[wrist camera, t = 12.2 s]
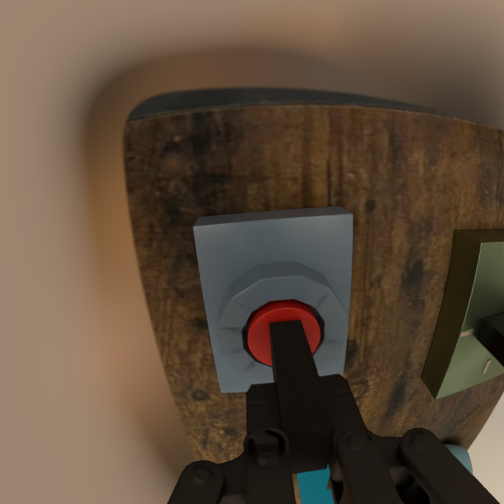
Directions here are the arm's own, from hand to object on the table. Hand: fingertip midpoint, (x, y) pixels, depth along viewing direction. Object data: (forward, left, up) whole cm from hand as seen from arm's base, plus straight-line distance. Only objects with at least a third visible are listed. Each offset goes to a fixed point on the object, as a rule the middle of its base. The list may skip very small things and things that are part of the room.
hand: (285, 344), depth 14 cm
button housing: (0, 0, -5) cm, 5 cm away
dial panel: (+11, +14, -5) cm, 18 cm away
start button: (0, 0, -2) cm, 2 cm away
